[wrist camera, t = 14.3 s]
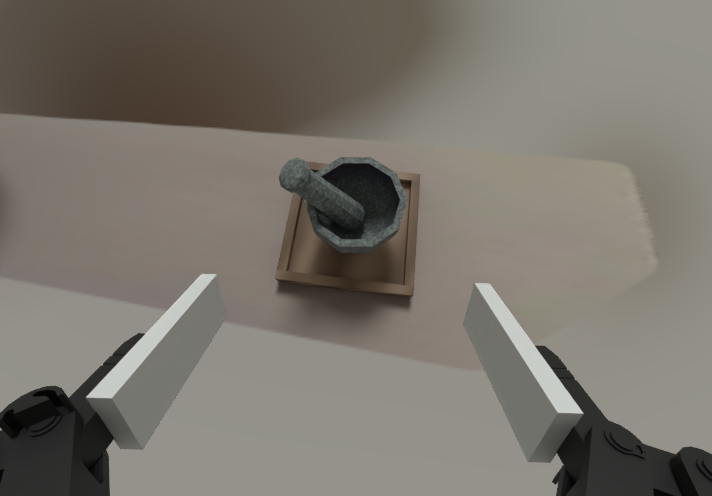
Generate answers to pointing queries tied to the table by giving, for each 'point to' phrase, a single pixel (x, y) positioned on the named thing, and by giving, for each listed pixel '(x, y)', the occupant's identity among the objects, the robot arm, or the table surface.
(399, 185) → the mortar and pestle
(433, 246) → the table surface
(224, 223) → the table surface
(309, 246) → the walnut tray
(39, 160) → the table surface
